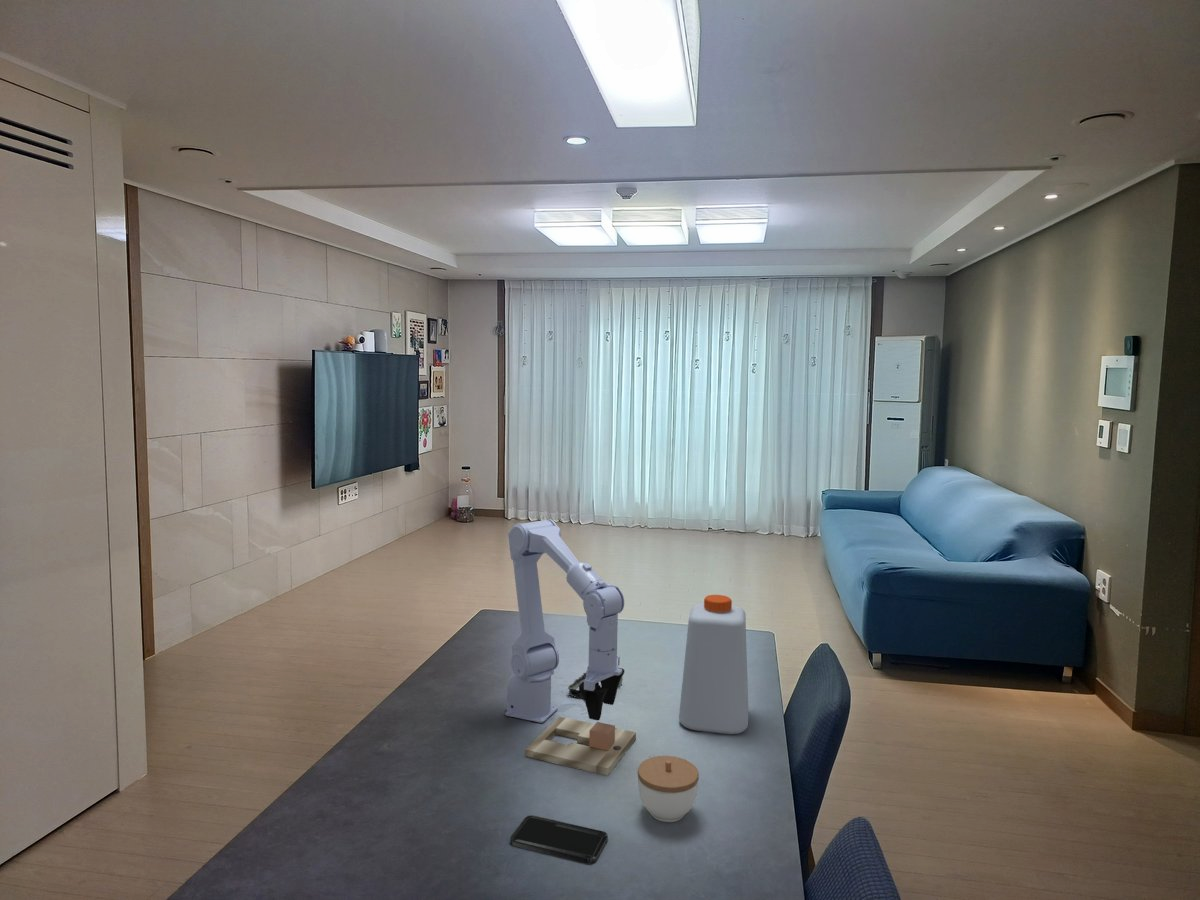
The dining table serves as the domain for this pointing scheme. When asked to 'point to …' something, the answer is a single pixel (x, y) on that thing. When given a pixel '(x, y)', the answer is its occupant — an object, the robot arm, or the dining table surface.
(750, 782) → the dining table surface
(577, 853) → the phone
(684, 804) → the lidded jar
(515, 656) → the robot arm
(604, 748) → the slider block
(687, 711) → the plastic bottle
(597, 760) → the keyhole board
